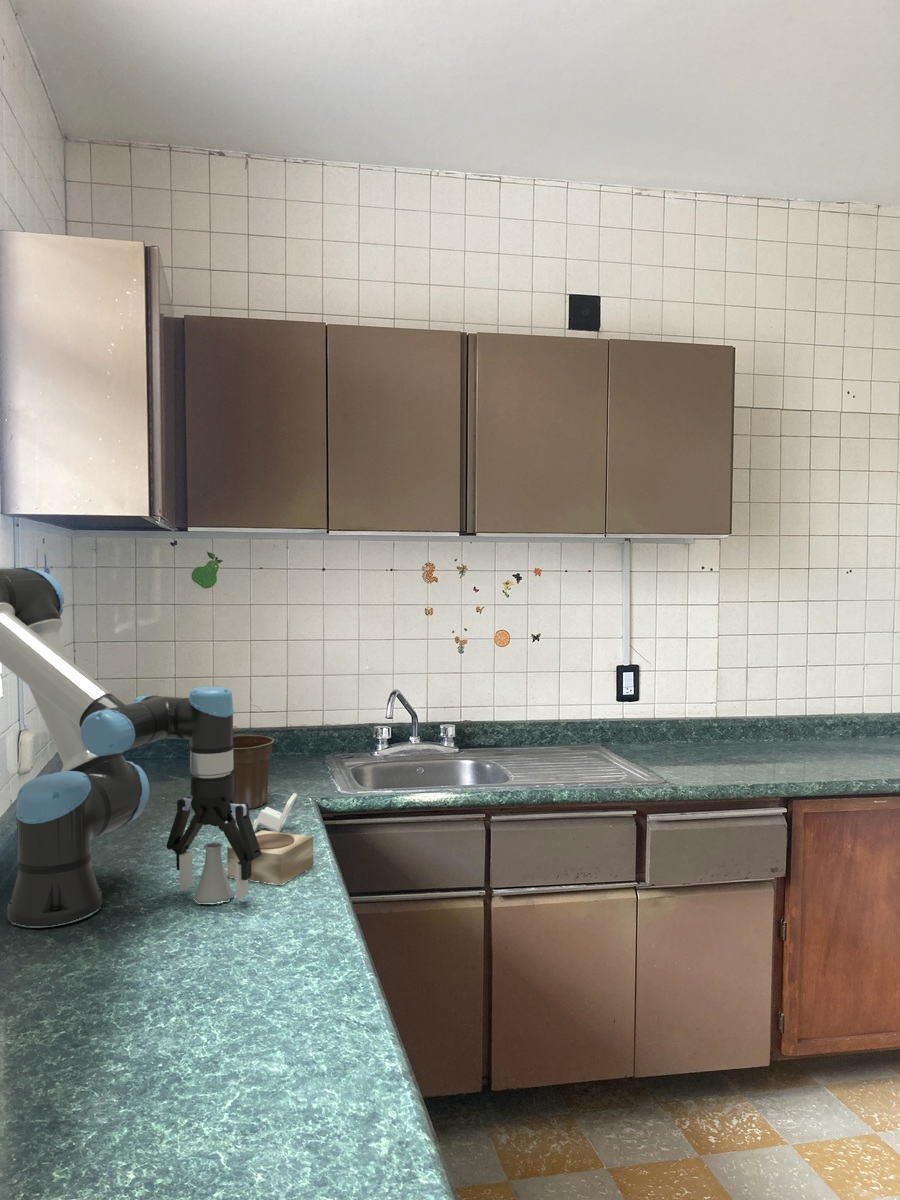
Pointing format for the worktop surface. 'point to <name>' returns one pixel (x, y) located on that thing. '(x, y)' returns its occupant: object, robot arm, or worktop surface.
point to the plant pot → (251, 769)
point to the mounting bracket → (273, 817)
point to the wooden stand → (277, 857)
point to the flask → (213, 878)
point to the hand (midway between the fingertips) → (213, 892)
